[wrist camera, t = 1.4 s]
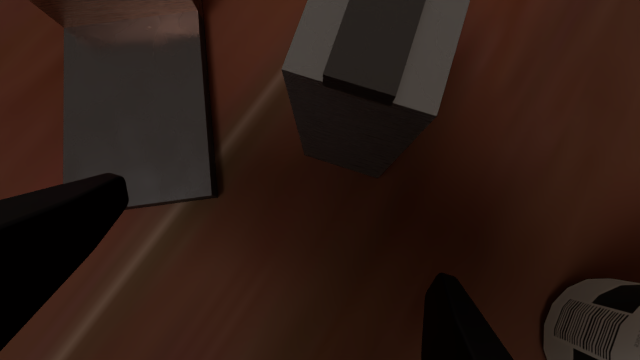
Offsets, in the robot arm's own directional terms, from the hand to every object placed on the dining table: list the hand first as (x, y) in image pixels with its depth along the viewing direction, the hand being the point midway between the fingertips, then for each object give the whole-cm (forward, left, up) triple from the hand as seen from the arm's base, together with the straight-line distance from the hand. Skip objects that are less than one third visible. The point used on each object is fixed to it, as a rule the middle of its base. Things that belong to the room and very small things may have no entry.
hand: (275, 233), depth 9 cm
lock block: (+4, -7, -13) cm, 15 cm away
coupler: (+17, +2, -13) cm, 21 cm away
